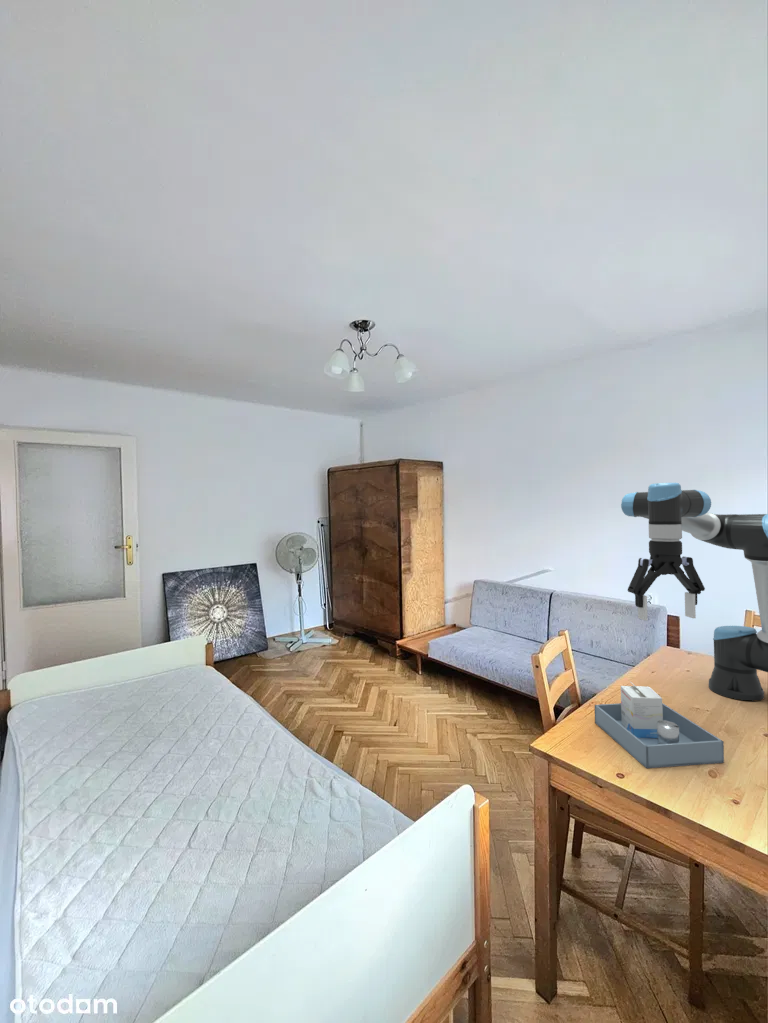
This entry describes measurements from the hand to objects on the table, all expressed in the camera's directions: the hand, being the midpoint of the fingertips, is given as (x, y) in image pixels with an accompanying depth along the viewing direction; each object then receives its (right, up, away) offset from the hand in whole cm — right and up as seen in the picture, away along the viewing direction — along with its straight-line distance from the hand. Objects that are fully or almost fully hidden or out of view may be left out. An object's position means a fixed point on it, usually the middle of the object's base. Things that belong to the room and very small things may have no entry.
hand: (666, 618), depth 114 cm
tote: (0, -37, +6) cm, 37 cm away
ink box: (0, -36, +11) cm, 38 cm away
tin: (+1, -36, 0) cm, 36 cm away
